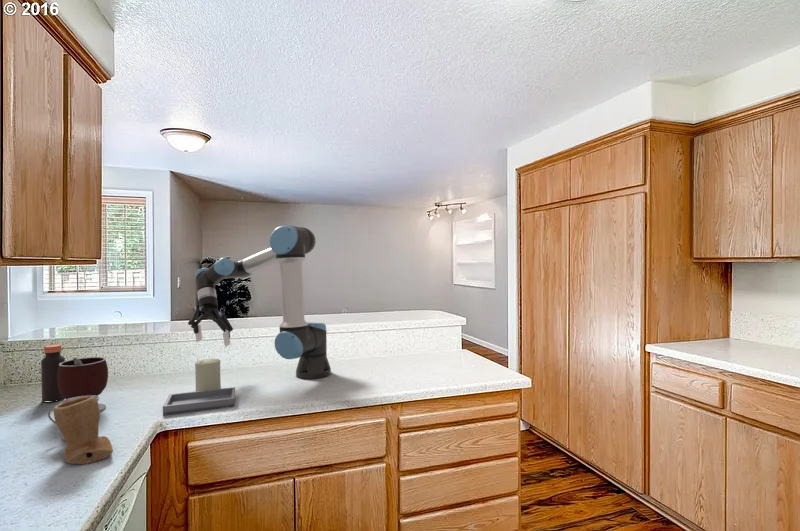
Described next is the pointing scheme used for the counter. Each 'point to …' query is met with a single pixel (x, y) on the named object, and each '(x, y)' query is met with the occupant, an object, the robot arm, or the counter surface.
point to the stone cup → (82, 430)
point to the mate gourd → (83, 377)
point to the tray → (199, 401)
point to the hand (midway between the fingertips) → (213, 342)
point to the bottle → (51, 373)
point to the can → (207, 374)
